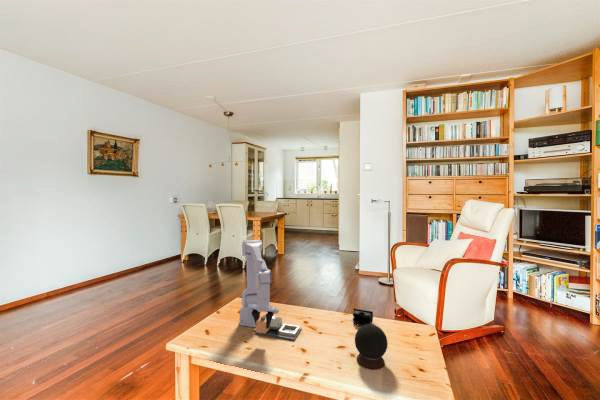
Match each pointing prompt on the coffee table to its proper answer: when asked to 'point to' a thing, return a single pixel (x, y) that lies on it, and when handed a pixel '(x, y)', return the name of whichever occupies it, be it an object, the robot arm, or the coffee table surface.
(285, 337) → the motor mount
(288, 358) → the coffee table surface
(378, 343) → the black orb on pedestal
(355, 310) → the end cap
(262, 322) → the cube with grey knob
